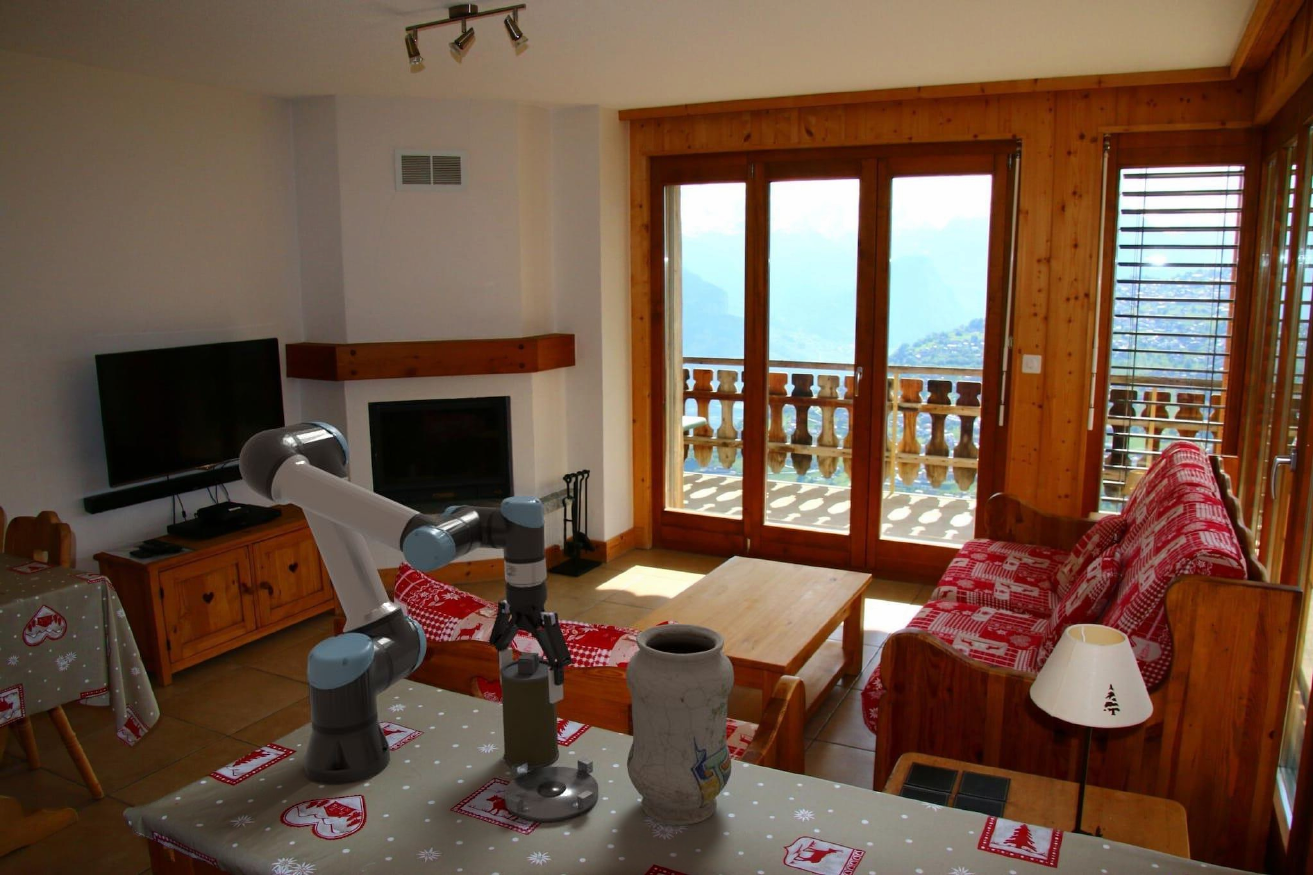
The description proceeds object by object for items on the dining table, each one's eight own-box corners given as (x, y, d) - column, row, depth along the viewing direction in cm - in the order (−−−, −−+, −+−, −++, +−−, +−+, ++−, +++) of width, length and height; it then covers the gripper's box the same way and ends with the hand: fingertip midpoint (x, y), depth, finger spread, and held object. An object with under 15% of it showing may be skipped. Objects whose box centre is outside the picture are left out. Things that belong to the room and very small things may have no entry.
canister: (549, 772, 174) (546, 667, 171) (495, 767, 176) (490, 663, 173) (566, 744, 184) (563, 645, 181) (515, 740, 186) (511, 642, 183)
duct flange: (478, 801, 164) (477, 782, 164) (554, 762, 177) (553, 744, 177) (549, 838, 153) (548, 818, 152) (624, 793, 166) (624, 774, 165)
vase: (749, 791, 166) (749, 626, 161) (711, 846, 150) (710, 664, 145) (655, 771, 174) (652, 612, 169) (609, 820, 157) (605, 647, 153)
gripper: (466, 574, 180) (472, 681, 183) (558, 599, 164) (563, 715, 167) (497, 565, 186) (502, 669, 189) (588, 588, 170) (593, 701, 173)
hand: (531, 691), depth 178 cm, fingers open, 13 cm apart
